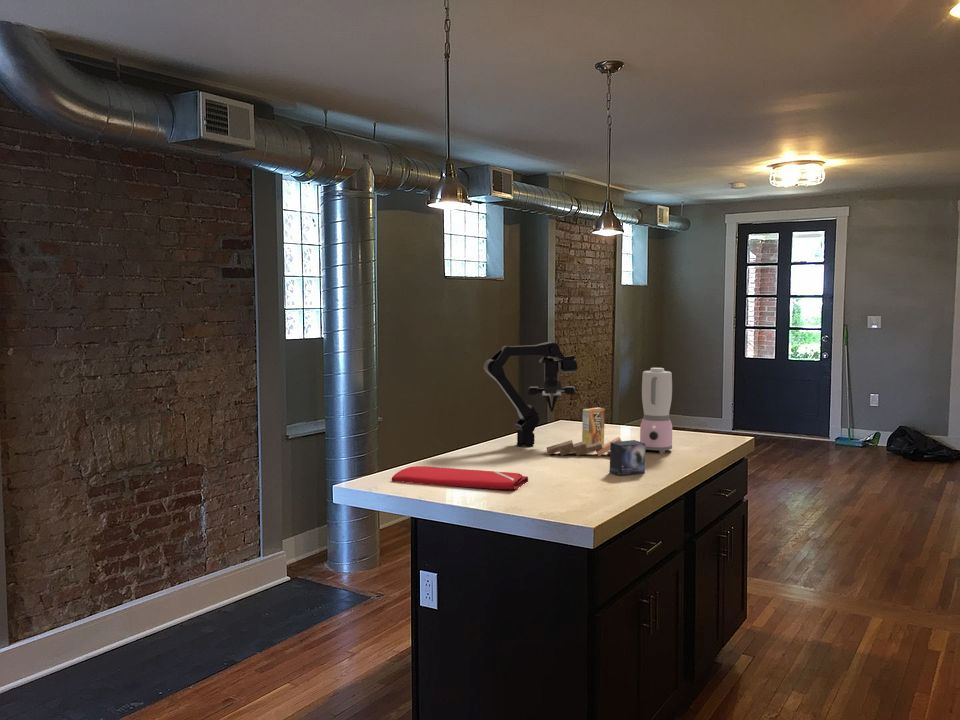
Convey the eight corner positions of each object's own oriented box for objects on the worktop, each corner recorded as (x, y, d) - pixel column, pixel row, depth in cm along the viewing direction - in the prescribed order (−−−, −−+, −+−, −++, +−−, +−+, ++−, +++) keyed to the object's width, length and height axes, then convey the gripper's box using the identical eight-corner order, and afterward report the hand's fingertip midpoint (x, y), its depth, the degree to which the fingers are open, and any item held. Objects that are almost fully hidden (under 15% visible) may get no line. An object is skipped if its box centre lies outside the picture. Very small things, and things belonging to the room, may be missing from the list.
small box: (620, 476, 260) (621, 445, 259) (608, 472, 265) (609, 441, 265) (646, 473, 264) (646, 442, 264) (633, 469, 270) (634, 439, 269)
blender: (643, 446, 313) (644, 366, 311) (674, 449, 309) (675, 367, 307) (635, 453, 299) (636, 369, 297) (668, 456, 294) (669, 370, 292)
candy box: (596, 445, 317) (597, 407, 316) (604, 446, 314) (605, 408, 313) (581, 447, 312) (581, 409, 311) (589, 449, 309) (589, 410, 308)
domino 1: (546, 450, 295) (572, 442, 294) (546, 447, 300) (571, 440, 299) (548, 454, 295) (573, 447, 294) (548, 452, 300) (573, 444, 299)
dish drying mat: (412, 473, 266) (412, 462, 266) (528, 483, 252) (529, 471, 251) (391, 483, 252) (391, 471, 251) (513, 494, 237) (513, 482, 237)
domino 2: (559, 451, 294) (585, 443, 294) (558, 448, 300) (584, 441, 299) (561, 455, 295) (586, 448, 294) (560, 453, 300) (585, 445, 299)
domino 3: (575, 451, 294) (601, 443, 293) (575, 448, 300) (600, 441, 299) (576, 456, 294) (602, 448, 293) (576, 453, 300) (602, 445, 299)
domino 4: (598, 453, 299) (621, 440, 298) (598, 456, 293) (622, 443, 292) (596, 449, 299) (619, 436, 298) (596, 452, 294) (619, 438, 292)
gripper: (526, 375, 310) (527, 414, 312) (574, 375, 308) (575, 414, 309) (528, 372, 321) (529, 410, 323) (574, 372, 319) (575, 410, 320)
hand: (551, 411), depth 318 cm, fingers closed
